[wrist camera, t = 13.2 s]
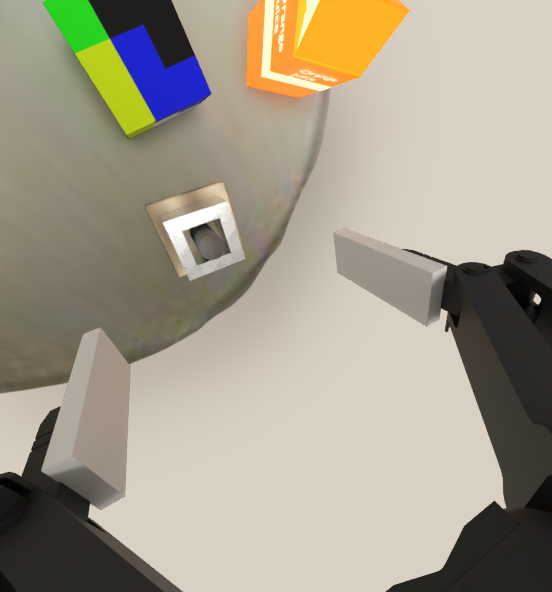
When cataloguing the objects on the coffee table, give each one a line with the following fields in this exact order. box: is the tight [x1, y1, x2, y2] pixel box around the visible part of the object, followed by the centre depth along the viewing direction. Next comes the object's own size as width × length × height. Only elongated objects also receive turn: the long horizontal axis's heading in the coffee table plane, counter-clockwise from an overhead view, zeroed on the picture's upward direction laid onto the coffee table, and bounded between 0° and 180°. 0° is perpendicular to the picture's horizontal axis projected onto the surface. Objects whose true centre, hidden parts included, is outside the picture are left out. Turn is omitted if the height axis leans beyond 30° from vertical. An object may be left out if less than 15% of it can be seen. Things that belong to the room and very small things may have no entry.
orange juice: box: [246, 0, 410, 98], centre depth 30 cm, size 8×9×20 cm
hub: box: [160, 196, 245, 281], centre depth 41 cm, size 9×9×6 cm
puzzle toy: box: [42, 0, 211, 139], centre depth 29 cm, size 10×10×10 cm
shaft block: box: [145, 181, 245, 278], centre depth 40 cm, size 12×12×10 cm
